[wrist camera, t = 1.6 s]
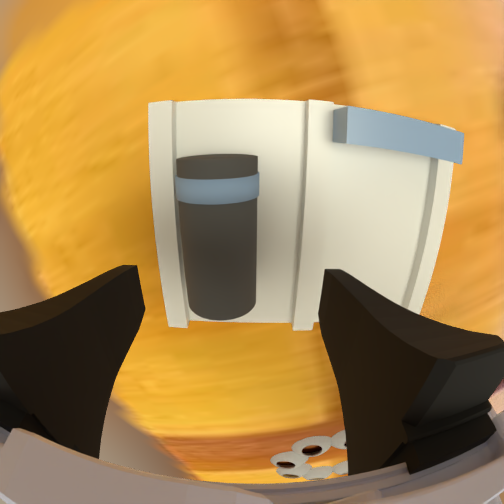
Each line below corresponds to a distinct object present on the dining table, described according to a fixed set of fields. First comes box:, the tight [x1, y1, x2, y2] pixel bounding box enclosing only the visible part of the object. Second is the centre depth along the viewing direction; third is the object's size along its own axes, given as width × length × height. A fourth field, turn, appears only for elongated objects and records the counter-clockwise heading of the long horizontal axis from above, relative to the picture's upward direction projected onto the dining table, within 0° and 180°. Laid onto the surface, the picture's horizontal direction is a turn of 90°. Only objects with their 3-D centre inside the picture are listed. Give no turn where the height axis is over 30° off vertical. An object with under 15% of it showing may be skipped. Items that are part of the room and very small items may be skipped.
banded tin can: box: [175, 154, 259, 321], centre depth 16 cm, size 9×5×5 cm, turn 0°
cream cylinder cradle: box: [148, 99, 464, 330], centre depth 17 cm, size 16×20×4 cm
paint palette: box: [270, 430, 348, 480], centre depth 33 cm, size 20×20×2 cm
